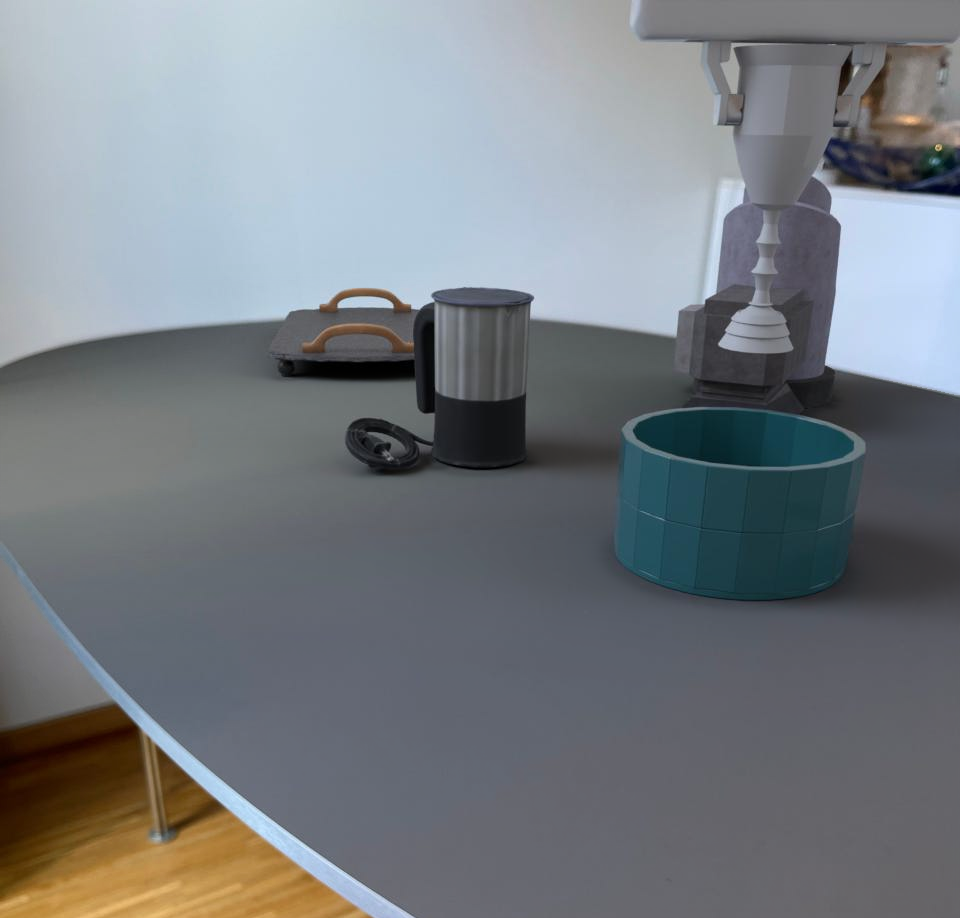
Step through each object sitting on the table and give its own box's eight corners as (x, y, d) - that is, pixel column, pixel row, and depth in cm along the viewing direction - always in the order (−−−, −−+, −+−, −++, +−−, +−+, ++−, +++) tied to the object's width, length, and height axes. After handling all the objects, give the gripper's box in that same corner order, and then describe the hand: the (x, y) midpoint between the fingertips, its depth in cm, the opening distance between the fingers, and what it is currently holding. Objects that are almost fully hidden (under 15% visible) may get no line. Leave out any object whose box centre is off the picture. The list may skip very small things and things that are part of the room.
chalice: (682, 343, 74) (709, 47, 66) (743, 333, 78) (776, 52, 70) (769, 360, 69) (810, 42, 61) (829, 348, 73) (876, 48, 65)
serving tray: (291, 326, 163) (289, 284, 161) (442, 326, 165) (442, 284, 162) (262, 382, 129) (258, 329, 126) (454, 381, 130) (454, 329, 128)
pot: (807, 518, 86) (824, 408, 82) (877, 601, 71) (902, 471, 67) (602, 516, 86) (610, 405, 82) (629, 599, 71) (640, 468, 67)
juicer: (713, 371, 137) (736, 163, 127) (842, 384, 131) (877, 167, 121) (645, 424, 113) (666, 171, 102) (799, 443, 107) (839, 177, 96)
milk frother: (547, 453, 102) (553, 292, 96) (451, 494, 91) (451, 314, 84) (428, 430, 110) (427, 279, 103) (325, 466, 98) (316, 298, 91)
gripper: (644, -156, 58) (626, 124, 65) (1016, -150, 59) (962, 129, 65) (629, -132, 64) (614, 124, 70) (968, -126, 64) (923, 128, 70)
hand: (784, 126), depth 67 cm, fingers closed on chalice, 6 cm apart
